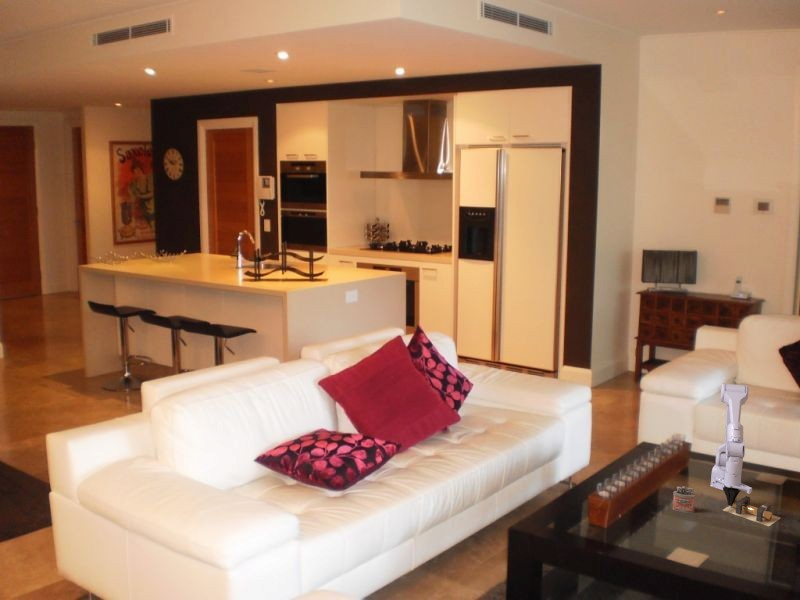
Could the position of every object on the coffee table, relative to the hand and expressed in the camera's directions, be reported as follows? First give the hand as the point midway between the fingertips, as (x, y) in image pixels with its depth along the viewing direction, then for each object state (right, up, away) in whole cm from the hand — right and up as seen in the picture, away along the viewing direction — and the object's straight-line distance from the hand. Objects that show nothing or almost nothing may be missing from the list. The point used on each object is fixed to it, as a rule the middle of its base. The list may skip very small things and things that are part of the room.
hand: (730, 504), depth 323 cm
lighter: (-19, -2, -2) cm, 19 cm away
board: (+5, -3, -6) cm, 8 cm away
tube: (+6, -2, -6) cm, 8 cm away
